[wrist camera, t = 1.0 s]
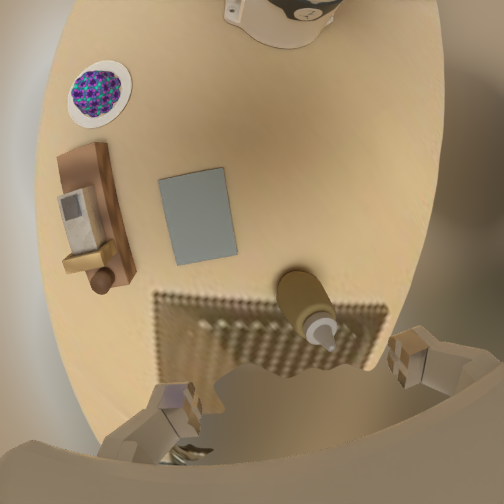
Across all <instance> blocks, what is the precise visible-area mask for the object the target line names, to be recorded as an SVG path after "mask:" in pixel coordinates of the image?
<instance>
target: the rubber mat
mask: <svg viewBox="0 0 504 504" xmlns="http://www.w3.org/2000/svg"><path fill="white" fill-rule="evenodd" d="M158 183H159V188H160V193H161V198H162V203H163V207H164V212H165V217H166V221H167V226H168V230H169V234H170V238H171V243H172V247H173V251H174V255H175V259H176V263H177V266H179V265H184V264H190V263H195V262H201V261H206V260H212V259H217V258H222V257H228V256H233V255H238V254H237V249H236V243H235V237H234V231H233V225H232V219H231V213H230V207H229V201H228V195H227V189H226V182H225V176H224V170H223V168H217V169H212V170H206V171H201V172H196V173H190V174H185V175H181V176H176V177H171V178H167V179H162V180H158Z"/></svg>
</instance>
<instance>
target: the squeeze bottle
mask: <svg viewBox="0 0 504 504" xmlns="http://www.w3.org/2000/svg"><path fill="white" fill-rule="evenodd" d="M277 302H278V306H279V308H280V309H281V311H282V312H283V314H284V315H285V317H286V318H287V320H288V321H289V323H290V324H291V326H292V327H293V329H294V330H295V332H296V333H297V334H298V335H299V336H300V337H303V338H306V339H307V340H308V341H309V342H310V343H312V344H315V345H317V344H321V345H322V346H323V347H325V348H326V349H327V350H328V351H329V352H332V351H334V350H335V349H336V345H335V341H334V337H333V336H334V335H335V333H336V331H337V323H336V321H335V320H336V311H335V308H334V307H333V305H332V303H331V301H330V299H329V297H328V295H327V294H326V292H325V290H324V288H323V286H322V284H321V283H320V281H319V280H318V279H317V278H316V277H315V276H313V275H311V274H308V273H305V272H302V271H292V272H289V273H287V274H286V275H285V276H283V277H282V279H281V281H280V282H279V286H278V292H277Z"/></svg>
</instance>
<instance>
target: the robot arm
mask: <svg viewBox="0 0 504 504" xmlns="http://www.w3.org/2000/svg"><path fill="white" fill-rule="evenodd" d="M343 1H344V0H226V1H225V9H224V20H225V21H226V22H228V23H230V24H232V25H235V26H238V27H240V28H242V29H243V30H244V31H245V32H247V33H248V34H249V35H250V36H251V37H253V38H254V39H256V40H257V41H259V42H261V43H264V44H266V45H269V46H272V47H277V48H285V49H292V48H299V47H303V46H306V45H308V44H310V43H311V42H313V41H314V40H315V39H316V38H317V37H318V35H319V33H320V32H321V30H322V29H323V28H324V27H326V26H328V25H330V24H331V23H332V21H333V20H334V17H333V14H334V13H335V11H336V10H337V9H338V7H339V6H340V4H341V3H342V2H343ZM230 11H234V12H230ZM388 346H389V347H390V348H391V349H390V351H389V352H388V356H387V360H388V365H389V368H390V370H391V371H392V373H393V374H396V375H398V381H399V383H400V384H401V385H402V387H403V388H404V389H406V388H409V387H411V386H414V385H416V384H418V383H422V384H425V385H427V386H429V387H431V388H433V389H436V390H438V391H440V392H442V393H445V394H447V395H449V396H452V397H450V398H448V399H447V400H445V401H443V402H441V403H439V404H438V405H436V406H434V407H432V408H430V409H428V410H426V411H424V412H422V413H420V414H418V415H416V416H414V417H412V418H409V419H407V420H405V421H403V422H400V423H398V424H396V425H393V426H391V427H389V428H386V429H383V430H381V431H378V432H376V433H373V434H370V435H367V436H364V437H361V438H358V439H355V440H352V441H349V442H346V443H343V444H339V445H336V446H332V447H329V448H325V449H321V450H317V451H313V452H309V453H304V454H300V455H295V456H289V457H284V458H278V459H272V460H265V461H258V462H250V463H241V464H228V465H209V466H173V465H157V464H158V463H159V462H160V461H161V459H162V458H163V457H164V456H165V455H166V454H167V453H168V452H169V450H170V449H171V448H172V447H173V446H174V445H175V443H176V442H177V441H178V440H179V439H180V437H198V436H199V433H200V426H201V424H200V422H199V419H200V418H201V417H202V412H203V411H202V403H201V400H200V398H199V396H198V395H196V394H195V393H194V392H195V387H194V385H193V383H192V382H178V383H163V384H157V385H155V387H154V390H153V392H152V395H151V397H150V400H149V403H148V405H147V408H146V409H143V410H141V411H140V412H139V413H137V414H136V415H135V416H133V417H132V418H131V419H130V420H128V421H127V422H126V423H124V424H123V425H121V426H120V427H119V428H117V429H116V430H115V431H113V432H112V433H111V434H109V435H108V436H106V437H105V439H104V441H103V443H102V445H101V448H100V450H99V452H98V454H97V457H95V456H90V455H86V454H81V453H77V452H73V451H69V450H66V449H62V448H58V447H55V446H52V445H48V444H46V443H43V442H40V441H36V440H31V441H28V442H25V443H23V444H21V445H19V446H17V447H15V448H13V449H11V450H9V451H8V452H6V453H5V454H4V455H3V456H2V457H1V458H0V504H504V362H502V363H501V362H500V361H499V360H498V359H497V358H495V357H494V356H493V355H492V354H491V353H489V352H488V351H487V350H483V349H478V348H473V347H468V346H463V345H458V344H454V343H449V342H444V341H443V342H439V341H438V340H437V339H436V338H435V337H433V335H432V334H430V333H429V332H428V331H427V330H426V329H425V328H423V326H421V325H418V326H416V327H413V328H411V329H409V330H407V331H404V332H402V333H399V334H396V335H394V336H391V337H389V340H388Z"/></svg>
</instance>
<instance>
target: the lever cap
mask: <svg viewBox="0 0 504 504" xmlns="http://www.w3.org/2000/svg"><path fill="white" fill-rule="evenodd" d="M57 199H58V203H59V208H60V212H61V216H62V220H63V223H64V227H65V231H66V234H67V238H68V241H69V244H70V248H71V251H72V254H73V256H77V255H82V254H86V253H90V252H95V251H98V250H99V249H100V248H101V247H102V246H103V245H104V244H105V243H107V242H108V240H107V237H106V233H105V230H104V226H103V222H102V218H101V214H100V210H99V206H98V202H97V197H96V192H95V188H94V185H91V186H88V187H85V188H81V189H78V190H75V191H72V192H70V193H67V194H64V195H61V196H58V197H57Z"/></svg>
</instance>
